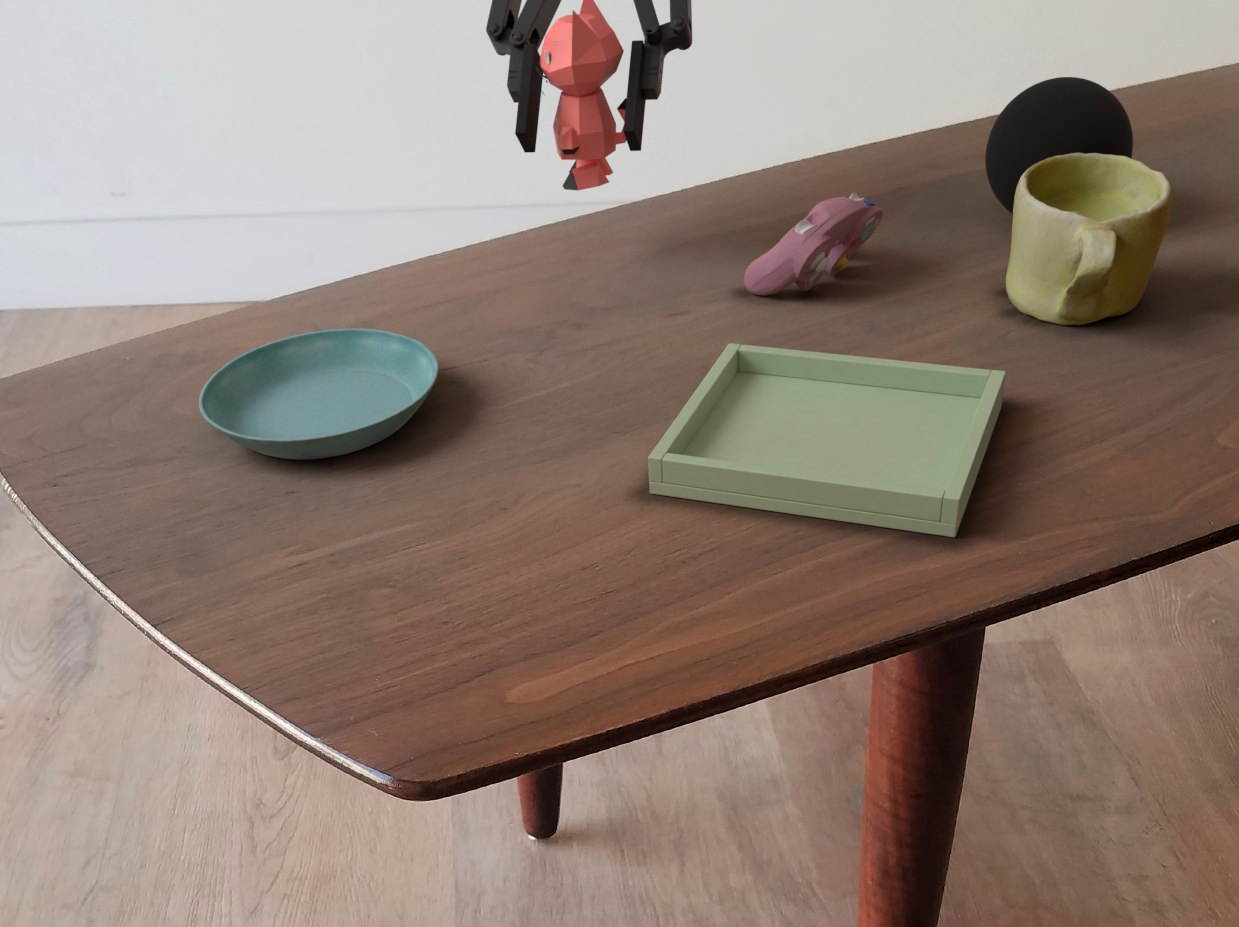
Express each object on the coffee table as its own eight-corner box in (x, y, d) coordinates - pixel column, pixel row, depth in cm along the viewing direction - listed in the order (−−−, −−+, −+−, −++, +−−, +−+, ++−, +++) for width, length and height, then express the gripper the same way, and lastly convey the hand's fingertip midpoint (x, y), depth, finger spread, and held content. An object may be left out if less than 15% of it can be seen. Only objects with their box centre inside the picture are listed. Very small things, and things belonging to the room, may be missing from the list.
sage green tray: (1001, 406, 80) (1006, 370, 79) (955, 538, 70) (959, 499, 69) (729, 376, 86) (729, 342, 85) (649, 493, 76) (647, 457, 74)
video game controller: (781, 327, 95) (823, 248, 89) (733, 286, 96) (771, 205, 90) (861, 278, 100) (905, 201, 94) (815, 240, 101) (856, 161, 95)
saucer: (192, 397, 90) (181, 360, 88) (408, 347, 93) (402, 310, 92) (230, 502, 79) (219, 461, 77) (474, 440, 82) (468, 400, 81)
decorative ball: (1116, 197, 104) (1139, 58, 98) (1124, 248, 97) (1149, 101, 91) (980, 196, 107) (994, 60, 101) (977, 245, 99) (992, 102, 93)
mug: (992, 233, 96) (1052, 105, 88) (1133, 287, 94) (1207, 163, 86) (948, 337, 89) (1009, 209, 81) (1099, 397, 88) (1177, 273, 79)
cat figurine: (554, 163, 103) (538, -11, 96) (645, 160, 102) (636, -17, 94) (538, 196, 98) (519, 14, 90) (633, 193, 96) (623, 8, 89)
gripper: (753, -139, 99) (727, 166, 96) (488, -123, 103) (457, 169, 101) (743, -217, 91) (715, 111, 89) (459, -196, 96) (424, 117, 93)
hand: (578, 141), depth 95 cm, fingers closed on cat figurine, 7 cm apart
